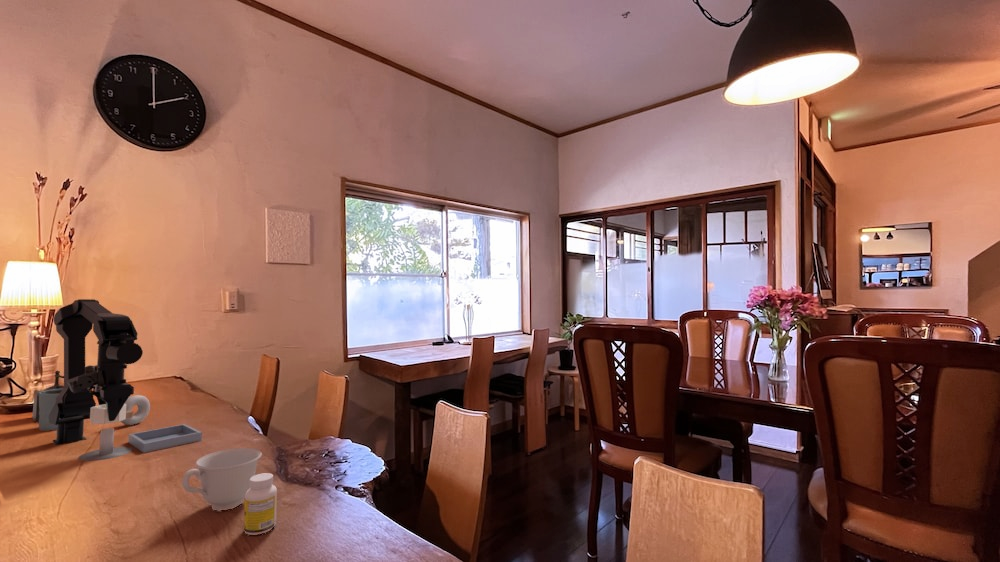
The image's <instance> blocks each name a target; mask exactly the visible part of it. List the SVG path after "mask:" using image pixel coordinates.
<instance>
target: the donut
mask: <svg viewBox="0 0 1000 562" xmlns="http://www.w3.org/2000/svg"><path fill="white" fill-rule="evenodd" d="M125 404H127V405H126V412H127V411H132V409H133V407H134V406H137V410H136V411H135V413H133V416H132V418H126V419H125V420H122V421H119V422H120V423H122V424H123V425H125V426H126V425H127V426H133V425H134V424H135V425H137V424H140V423H141V422H142V421H143V420H145V419H146V418H147V417H148V415H149V413H150V409H151V402H150V401H149V399H148V398H147V396H145V395H142V394H132V395H130V397H129V398H128V399H127V401H126V402H125Z"/></svg>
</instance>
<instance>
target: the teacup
mask: <svg viewBox="0 0 1000 562" xmlns="http://www.w3.org/2000/svg"><path fill="white" fill-rule="evenodd" d="M262 456H263V453H262V452H261V451H260V450H259V449H256V448H251V447H250V448H249V447H241V448H240V447H238V448H229V449H223V450H218V451H215V452H212V453H211V452H210V453H208V454H206V455H203V456H202V457H200V458H198V459H197V460H196V461H195V464H194V465H195V467H197V468H191V469H189V470H187V471H186V472H185V473H184V475H183V477H182V479H181V486H182V487H183V489H184V491H186V492H187V493H193V494H194V493H198V494H200V495H202V498H203V499H204V501H205V502H206V503H208V504H211V507H212V509H216V510H220V509H228V508H232V507H235V506H238V505H239V504H241V503H242V502H243V503H244V499H245V494H246V492H247V491H248V490H249V489H250V487H249V482H250V478H251V477H252V476H255V475H256V471H257V465H258V461H259V459H260V458H261V457H262ZM193 475H195V478H196V479H198V480H200V486H201V487H200V488H199V487H193V486H191V485H190V484H189V480H190V478H191V476H193ZM212 509H211V510H212Z"/></svg>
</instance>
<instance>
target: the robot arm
mask: <svg viewBox="0 0 1000 562" xmlns="http://www.w3.org/2000/svg"><path fill="white" fill-rule="evenodd" d="M53 324H54V325H55V329H56V330H55V331H56V332H57V333H58V334H59V335H60V337H62V339H63V376H64V378H63V386H64V388H63V390H62V391H61V392H60V394H59V395H58V396H57V398H56V404H55V405H54V407H53V408H52V410H51V412H50V414H49V416H48V417H49V423H51V424H53V425H57V430H56V439H53V440H52V443H53V444H54V445H55V446H56V445H59V446H60V445H64V444H71V443H75V442H81V441H86V440H87V438H86V437H85V436H84V426H85V420H90V409H91V407H94V406H97V403H98V405H103V404H106V406H107V412H108V418H109V421H114V420H115V419H116V417H117V415H118V414H119V412H120V410H121V409H122V407H123V405H124V404H125V402H126V401H127V399H128V398H129V397H131V396H133V395H135V394H134V391H135V387H134V386H133V385H131V384H130V383H128V382H127V379H125V369H127V368H128V365H132V364H135V363H136V362H138V361H139V360H140V359H141V358H142V357H143V353H144V352H143V349H142V347H141V345H139V344H138V343H136V342H135V341H137V340H138V332H137V329H136V327H135V325H134V322H133V320H132V319H131V318H130V317H129V316H128V315H126V314H122V313H121V314H119V313H114V312H112V311H110V310H109V309H107V308H106V307H105V306H103V305H102V304H100V301H99V300H98V299H93V298H92V299H91V298H90V299H89V298H86V299H85V298H84V299H83V298H80V299H79V298H78V299H76V300H74V301H72V303H69V304H68V305H67V304H66V305H65V306H62V307H60V308H59V309H58V310H57V312H56V313H55V314H54V316H53ZM91 331H93V333H94V334H95V336H96V338H97V342H96V344H97V345H98V346H97V347H98V348H97V364H94V366H95V367H94V369H93V371H92V372H89V373H86V374H85V367H86V337H87V336H88V335H89V333H90V332H91ZM94 397H96V399H97V402H96V400H95V399H94ZM59 418H60V419H59Z"/></svg>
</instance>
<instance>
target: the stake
mask: <svg viewBox="0 0 1000 562" xmlns="http://www.w3.org/2000/svg"><path fill="white" fill-rule="evenodd" d="M114 438H115V428H114V427H113V428H111V427H110V428H104V429H101V430H100V434H99V449H95V450H92V451H88V452H85V453H83V454H81V455H79V456H78V458H77V459H78V460H79V461H82V462H96V461H104V460H110V459H114V458H117V457H118V458H119V457H122V456H124V455H127V454H129V453H131V452H132V451H133V448H132V447H129V446H114Z"/></svg>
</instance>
